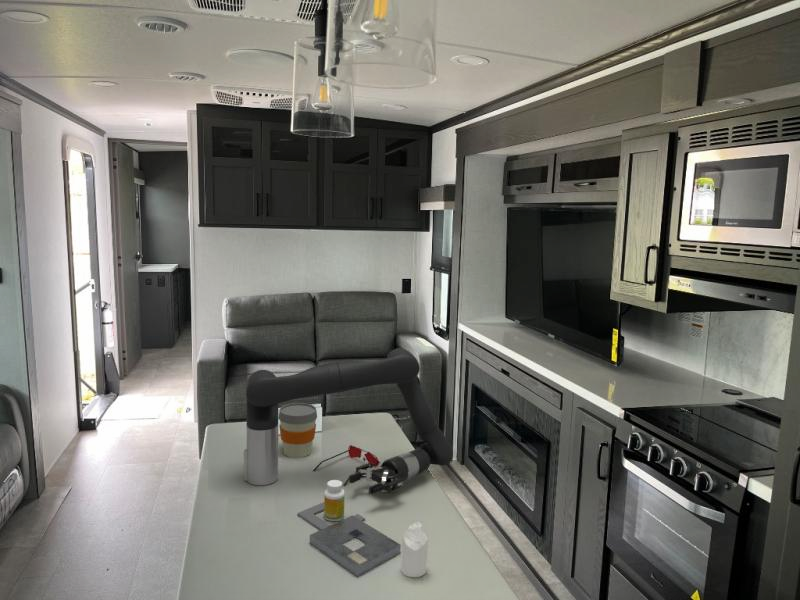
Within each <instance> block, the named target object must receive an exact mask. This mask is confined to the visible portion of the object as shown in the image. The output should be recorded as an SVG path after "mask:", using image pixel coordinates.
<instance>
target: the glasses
mask: <svg viewBox="0 0 800 600" xmlns="http://www.w3.org/2000/svg"><path fill="white" fill-rule="evenodd" d="M362 452H365V453H364V454H363V455H364V456H363V457H362ZM347 453H348V456H349V457H351V458H350V459H355V458H357V459H360V458H362V460H363V462H366V461H367V462H368V463H373V467H379V464H381V461H380V460H379V459H378V457H377V456H376V455H375V454H374V453H371V452H370V451H366V450H364V449H362V448H360V447H357V446H354V445H351V444H350V445H349V446H348V449H347V450H346V451H343V452H341V453H340V452H339V453H338V454H336V455H333V456H331V457H328V458H327V459H324V460H322V461H319V463H318V464H317V465H316V466H315V468H314V469H313V470H312V472H313V471H314V472H315V471H317V470H318V468H319V467H320V466H321V465H322V464H323V463H324V462H326V461H328V460H332V459H334V458H336V457H338V456H341V455H344V454H347ZM348 482H349V477H348V478H347V480H345V482H344V483H343V484H342V487H345V486H346V485H347V484H348Z"/></svg>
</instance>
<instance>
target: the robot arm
mask: <svg viewBox="0 0 800 600" xmlns="http://www.w3.org/2000/svg"><path fill="white" fill-rule="evenodd" d="M420 371H421V368H420V363H419V360H418V359H417V358H416V357H415V355H413V354H412V352H410V351H409V350H407V349H404V348H401V347H400V348H395V349H393V350H391V351H390V352H389V353H388V354H387V356H386V358H384V359H380V360H375V361H362V360H337V361H331V362H325V363H321V364H318V365H314V366H312V367H309V368H307V369H305V370H303V371H301V372H298V373H295V374H290V375H282V376H276V375H275V373H273V372H272V371H270V370H269V369H268V370H267V369H259V370H256V371H254V372H253V373H252V374H250V376H249V377H248V379H247V382H246V386H245V387H246V389H245V395H246V418H245V419H246V448H245V449H244V450H243V481H246V482H248V483H249V485H254V486H268V485H271V484H273V483H276V481H277V480H279V404H281V403H286V402H288V401H292V400H298V399H303V398H304V399H305V398H311V397H319V396H324V395H332V394H337V393H343V392H347V391H352V390H358V389H364V388H369V387H373V386H381V385H395V384H396V385H397V387H398V389H399V392H400V394H401V396H402V398H403V401H404V404H405V406H406V409H407V411H408V413H409V414H408V415H409V416H410V419H411V421H412V425H413V428H414V429H415V431H416V434H417V436H418V438H419V439H420V440H421V441H423V442H424V443H422V444H420V445H419V446H418V447H416V448H415V449H413V450H411V451H408V452H405V453H400V454H398V455H396V456H393V457H391V458H388V459H385V460H384V461H383V462H382V464H381V465H380V466H379V465H378V466H376V467H373V463H369V462H368V463H364V464H362V465H359V466H356V467H355V472H354V473H352V474H350V475H349V476H348V478H349V481H348V482H349V483H350V484H354V483H356V482H358V481H360V480H366V481H368V482H369V481H370V482H375V484H373V485H370V486H369V489H368V493H369V494H370V495H372V496H373V495H374V494H378V493H380V492H386V493H387V494H391V493H394V492H395V491H398V490H400V489H401V488H402V487H403V482H405V481H407V480H409V479H411V478H413V477H414V476H417V475H419V474H421V473H424V472H425V471H426V470H428V469H429V467H430V465H436V466H437V465H438V466H447V465H449V464H450V463H451V462H452V460H453V457H454V451H453V447H452V444H451V442H450V441H449V440H448V439H447V437H446V436H445V434H444V433H443V431H442V430H441V429H440V428H439V425H438V422H437V420H436V417H435V415H434V412H433V411H432V408H431V406H430V404H429V402H428V400H427V398H426V396H425V395H424V393H423V390H422V388H421V386H420V383H419V380H418V378H417V377H418V375H419V373H420ZM370 474H371V476H370Z"/></svg>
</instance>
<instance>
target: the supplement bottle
mask: <svg viewBox="0 0 800 600" xmlns="http://www.w3.org/2000/svg"><path fill="white" fill-rule="evenodd" d="M326 488H327V489H326V490H325V491H324V494H323V496H324V500H323V502H324V511H323V516H324V519H325V520H327V521H328V522H339V521H341V520H343V518H344V516H345V496H346V495H345V490H344V489H343V481H342V480H338V479H331V480H329V481H327V483H326Z"/></svg>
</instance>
